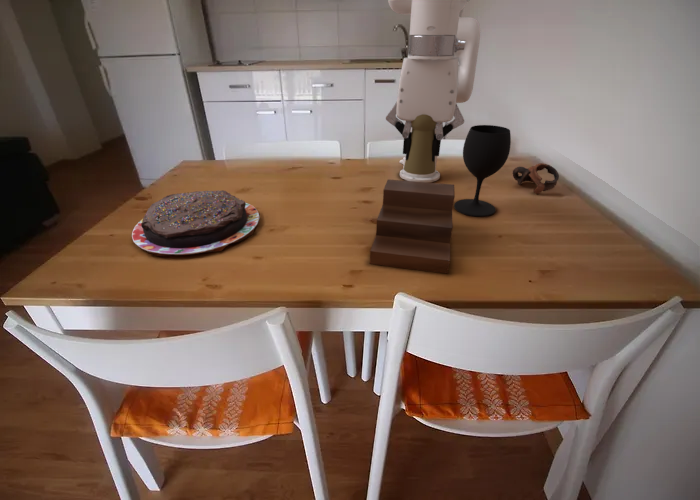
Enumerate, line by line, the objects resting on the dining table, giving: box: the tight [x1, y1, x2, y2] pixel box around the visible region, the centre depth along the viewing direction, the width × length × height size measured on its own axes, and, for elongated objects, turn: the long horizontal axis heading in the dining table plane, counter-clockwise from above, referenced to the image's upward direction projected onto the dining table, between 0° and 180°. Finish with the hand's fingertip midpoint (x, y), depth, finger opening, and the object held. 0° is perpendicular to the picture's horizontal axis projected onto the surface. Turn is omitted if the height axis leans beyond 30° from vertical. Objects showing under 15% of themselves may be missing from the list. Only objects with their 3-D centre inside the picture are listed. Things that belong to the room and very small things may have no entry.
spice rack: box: [369, 178, 456, 274], centre depth 75 cm, size 21×15×10 cm
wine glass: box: [453, 124, 512, 218], centre depth 87 cm, size 10×10×20 cm
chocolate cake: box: [131, 190, 260, 257], centre depth 82 cm, size 28×28×7 cm
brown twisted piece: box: [512, 162, 560, 195], centre depth 102 cm, size 12×10×8 cm
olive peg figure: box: [403, 114, 437, 175], centre depth 66 cm, size 6×6×11 cm
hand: (420, 157), depth 68 cm, fingers closed on olive peg figure, 4 cm apart
